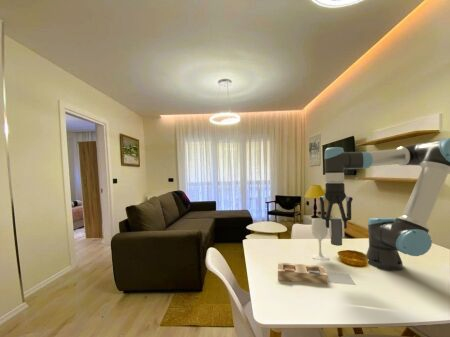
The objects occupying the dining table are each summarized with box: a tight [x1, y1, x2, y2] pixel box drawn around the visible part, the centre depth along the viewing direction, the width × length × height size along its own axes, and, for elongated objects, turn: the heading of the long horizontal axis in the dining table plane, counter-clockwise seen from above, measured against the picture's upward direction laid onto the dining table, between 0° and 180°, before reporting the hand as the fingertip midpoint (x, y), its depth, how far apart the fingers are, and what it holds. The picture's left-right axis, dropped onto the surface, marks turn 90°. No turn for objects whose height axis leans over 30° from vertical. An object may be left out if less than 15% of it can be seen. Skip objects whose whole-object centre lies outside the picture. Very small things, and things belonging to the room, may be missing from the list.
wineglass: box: [311, 217, 330, 261], centre depth 119 cm, size 9×9×21 cm
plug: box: [329, 217, 343, 247], centre depth 96 cm, size 4×4×11 cm
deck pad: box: [326, 271, 356, 286], centre depth 96 cm, size 10×10×1 cm
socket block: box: [277, 262, 328, 285], centre depth 98 cm, size 20×9×5 cm, turn 76°
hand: (336, 235), depth 96 cm, fingers closed on plug, 4 cm apart
